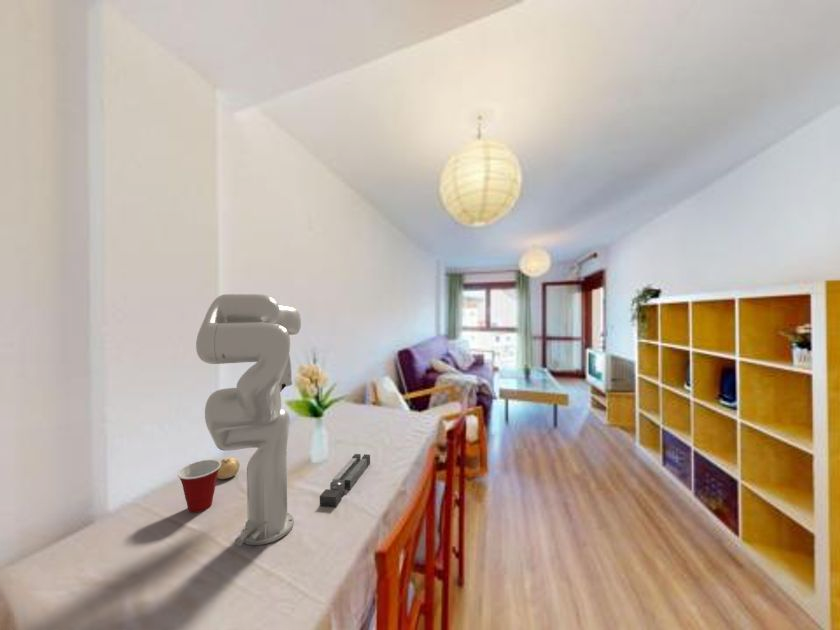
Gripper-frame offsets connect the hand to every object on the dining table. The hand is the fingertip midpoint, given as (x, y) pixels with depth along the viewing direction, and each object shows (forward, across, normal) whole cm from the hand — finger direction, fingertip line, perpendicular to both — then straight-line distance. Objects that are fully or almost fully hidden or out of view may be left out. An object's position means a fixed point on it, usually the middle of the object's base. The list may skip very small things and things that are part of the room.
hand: (275, 404), depth 110 cm
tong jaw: (+27, +23, -7) cm, 36 cm away
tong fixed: (+27, +22, -10) cm, 36 cm away
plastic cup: (+27, -21, -3) cm, 35 cm away
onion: (+27, -15, +16) cm, 35 cm away
